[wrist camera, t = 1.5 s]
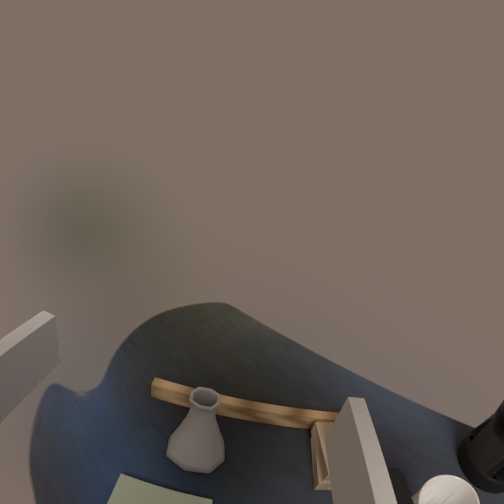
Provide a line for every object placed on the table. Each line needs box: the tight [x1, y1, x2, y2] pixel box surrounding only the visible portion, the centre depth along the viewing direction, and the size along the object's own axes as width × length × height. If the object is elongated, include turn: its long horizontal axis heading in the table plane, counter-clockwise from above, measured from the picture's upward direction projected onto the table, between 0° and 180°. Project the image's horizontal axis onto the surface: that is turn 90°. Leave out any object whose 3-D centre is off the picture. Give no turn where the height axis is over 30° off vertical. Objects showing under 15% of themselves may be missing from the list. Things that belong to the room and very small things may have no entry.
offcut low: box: [311, 437, 331, 490], centre depth 30 cm, size 4×9×2 cm, turn 176°
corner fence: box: [151, 377, 339, 429], centre depth 30 cm, size 28×16×3 cm, turn 87°
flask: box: [166, 387, 225, 474], centre depth 28 cm, size 7×7×10 cm
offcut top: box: [311, 422, 334, 483], centre depth 30 cm, size 4×9×2 cm, turn 1°
